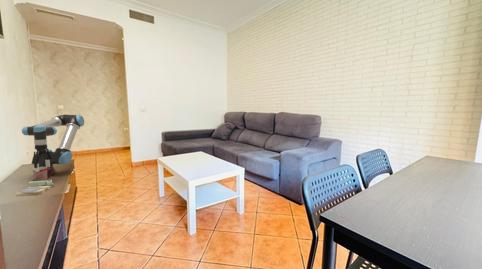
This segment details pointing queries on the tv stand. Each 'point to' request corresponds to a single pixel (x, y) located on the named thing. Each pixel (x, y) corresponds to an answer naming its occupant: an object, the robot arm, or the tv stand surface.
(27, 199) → the tv stand surface
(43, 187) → the board
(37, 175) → the mug
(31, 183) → the leg
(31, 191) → the seat pad
